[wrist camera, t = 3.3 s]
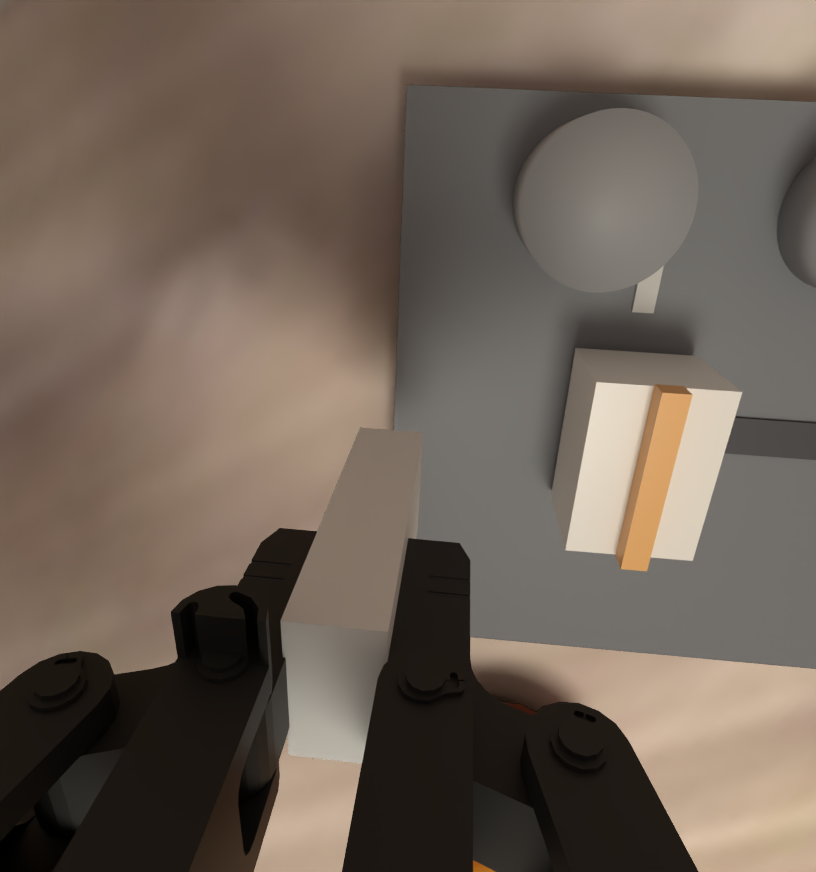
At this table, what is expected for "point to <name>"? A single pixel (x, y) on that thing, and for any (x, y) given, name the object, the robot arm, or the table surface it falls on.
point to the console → (612, 330)
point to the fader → (640, 453)
